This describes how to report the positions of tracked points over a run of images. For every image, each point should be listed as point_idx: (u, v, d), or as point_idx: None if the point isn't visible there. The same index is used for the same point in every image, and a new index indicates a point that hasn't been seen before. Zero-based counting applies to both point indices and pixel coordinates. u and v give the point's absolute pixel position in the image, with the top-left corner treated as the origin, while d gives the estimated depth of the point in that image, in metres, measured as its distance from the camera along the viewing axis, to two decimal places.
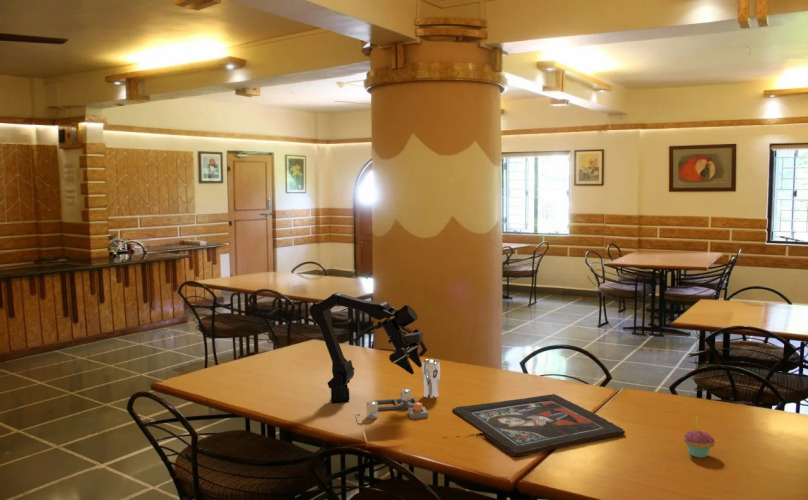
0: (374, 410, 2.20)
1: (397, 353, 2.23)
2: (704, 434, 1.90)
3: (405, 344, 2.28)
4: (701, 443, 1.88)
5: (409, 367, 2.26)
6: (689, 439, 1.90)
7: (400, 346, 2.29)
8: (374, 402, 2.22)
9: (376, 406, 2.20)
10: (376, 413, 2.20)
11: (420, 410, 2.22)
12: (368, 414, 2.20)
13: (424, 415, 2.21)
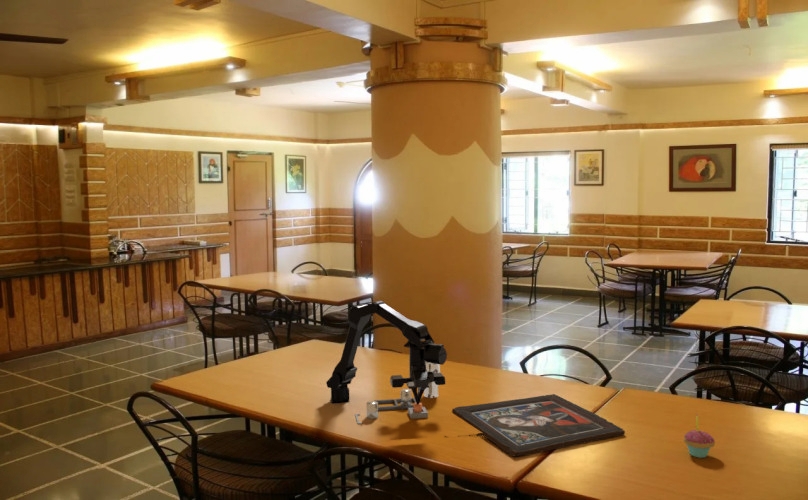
0: (374, 410, 2.20)
1: (391, 380, 2.20)
2: (704, 434, 1.90)
3: (410, 377, 2.19)
4: (701, 443, 1.88)
5: (414, 397, 2.22)
6: (689, 439, 1.90)
7: (409, 375, 2.21)
8: (374, 402, 2.22)
9: (376, 406, 2.20)
10: (376, 413, 2.20)
11: (420, 410, 2.22)
12: (368, 414, 2.20)
13: (424, 415, 2.21)
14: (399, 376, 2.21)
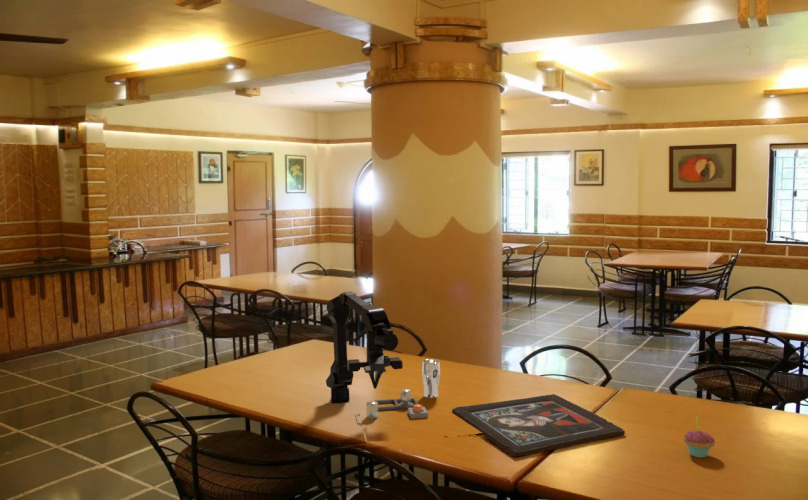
0: (374, 410, 2.20)
1: (348, 364, 2.17)
2: (704, 434, 1.90)
3: (367, 362, 2.17)
4: (701, 443, 1.88)
5: None
6: (689, 439, 1.90)
7: None
8: (374, 402, 2.22)
9: (376, 406, 2.20)
10: (376, 413, 2.20)
11: None
12: (368, 414, 2.20)
13: (424, 415, 2.21)
14: (356, 360, 2.19)
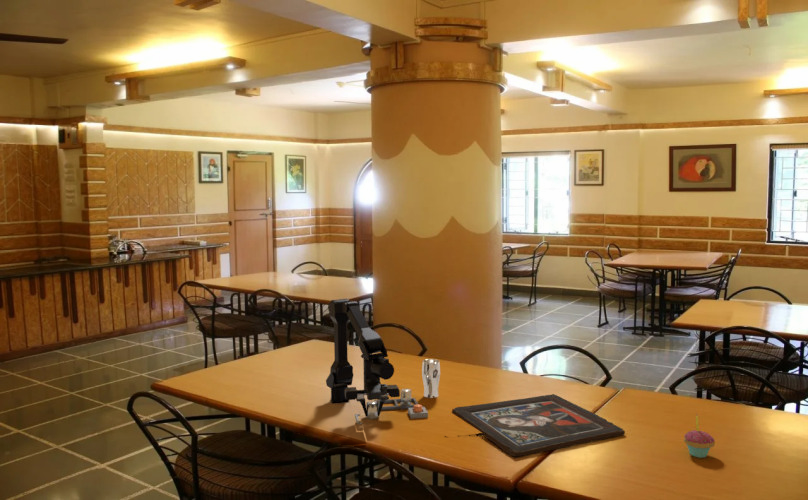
0: (374, 410, 2.20)
1: (345, 392, 2.18)
2: (704, 434, 1.90)
3: (364, 390, 2.18)
4: (701, 443, 1.88)
5: (363, 409, 2.20)
6: (689, 439, 1.90)
7: None
8: (374, 402, 2.22)
9: (376, 406, 2.20)
10: (376, 413, 2.20)
11: None
12: (368, 414, 2.20)
13: (424, 415, 2.21)
14: (353, 388, 2.20)
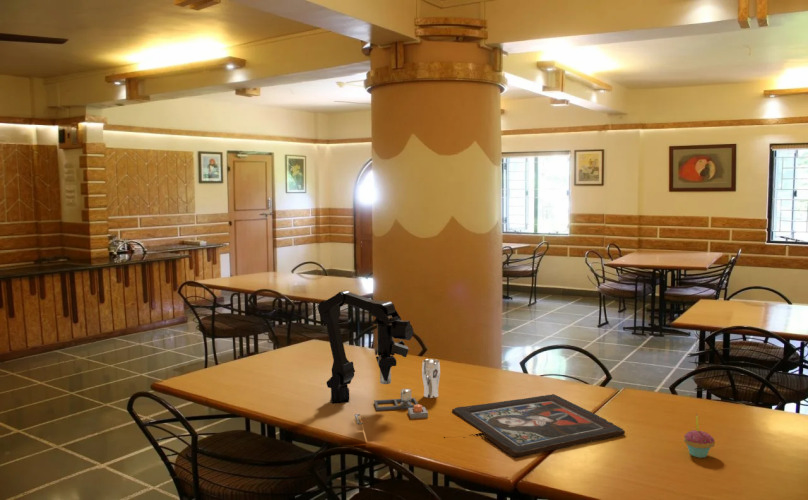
0: None
1: (390, 360, 2.21)
2: (704, 434, 1.90)
3: (393, 353, 2.27)
4: (701, 443, 1.88)
5: (387, 374, 2.28)
6: (689, 439, 1.90)
7: (387, 352, 2.27)
8: None
9: None
10: None
11: None
12: (389, 377, 2.30)
13: (424, 415, 2.21)
14: (385, 356, 2.24)
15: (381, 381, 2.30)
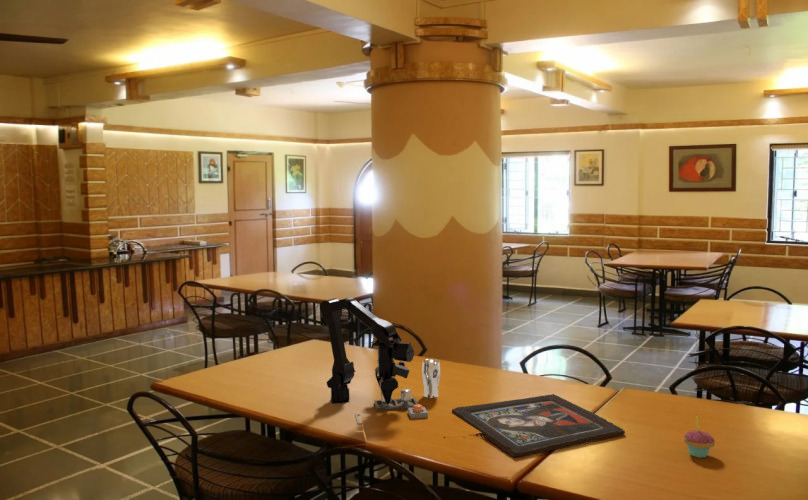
0: None
1: (392, 383, 2.22)
2: (704, 434, 1.90)
3: (394, 374, 2.29)
4: (701, 443, 1.88)
5: (389, 397, 2.27)
6: (689, 439, 1.90)
7: (388, 374, 2.29)
8: None
9: None
10: None
11: None
12: (390, 402, 2.31)
13: (424, 415, 2.21)
14: (387, 378, 2.25)
15: (382, 406, 2.31)
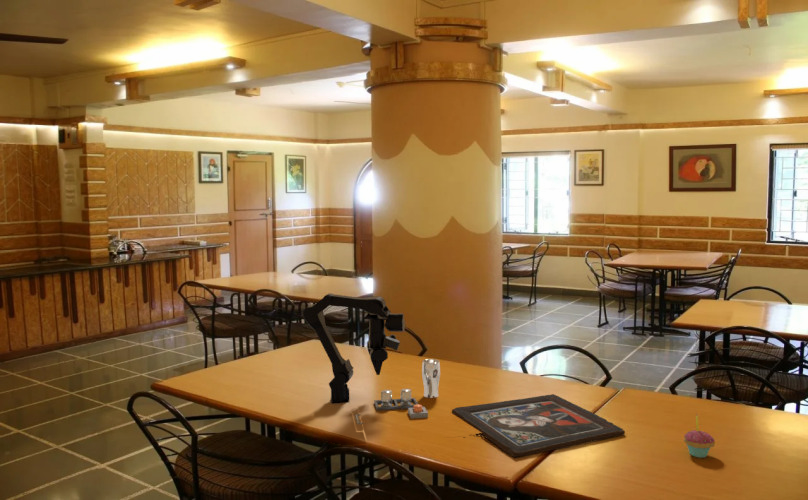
0: None
1: (382, 353, 2.29)
2: (704, 434, 1.90)
3: (384, 346, 2.36)
4: (701, 443, 1.88)
5: (379, 368, 2.34)
6: (689, 439, 1.90)
7: (378, 345, 2.35)
8: (385, 390, 2.33)
9: None
10: None
11: None
12: (390, 402, 2.31)
13: (424, 415, 2.21)
14: (377, 349, 2.32)
15: (382, 406, 2.31)
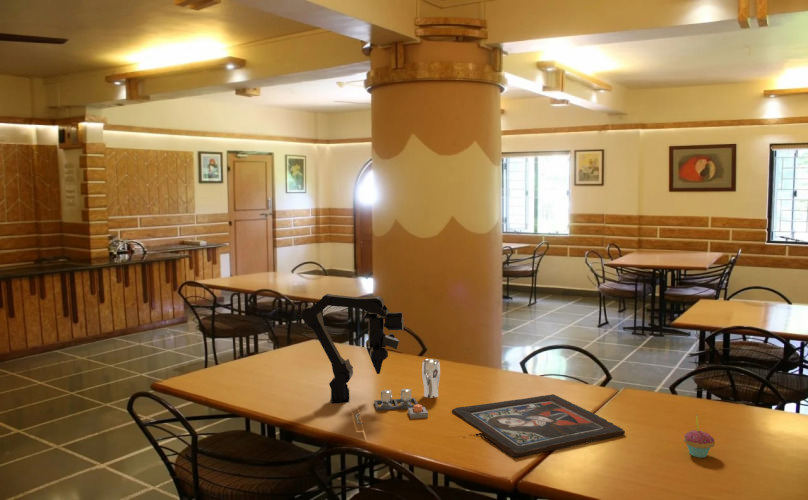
0: None
1: (382, 352, 2.30)
2: (704, 434, 1.90)
3: (384, 345, 2.37)
4: (701, 443, 1.88)
5: (379, 367, 2.34)
6: (689, 439, 1.90)
7: (378, 344, 2.36)
8: (384, 390, 2.33)
9: None
10: None
11: None
12: (390, 402, 2.31)
13: (424, 415, 2.21)
14: (377, 348, 2.33)
15: (382, 406, 2.31)
